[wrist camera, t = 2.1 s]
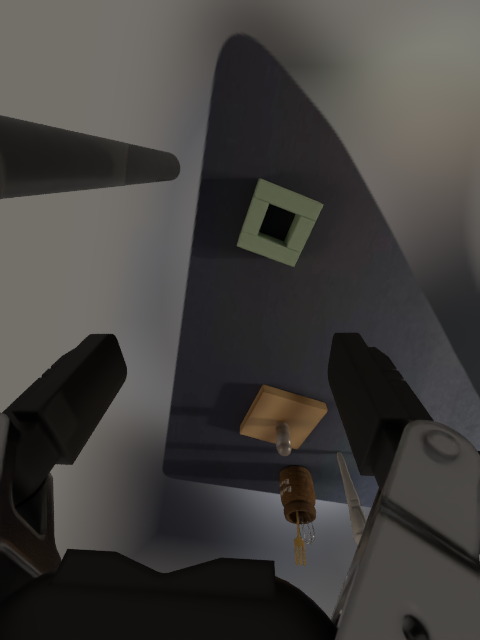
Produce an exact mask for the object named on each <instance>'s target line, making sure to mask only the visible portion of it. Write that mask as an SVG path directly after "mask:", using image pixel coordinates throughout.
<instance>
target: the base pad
mask: <svg viewBox="0 0 480 640" xmlns="http://www.w3.org/2000/svg"><path fill="white" fill-rule="evenodd" d="M327 411H328V410H327V407H326V404H325V403H324V402H320V401H317V400H314V399H310V398H307V397H304V396H300V395H297V394H294V393H290V392H287V391H284V390H280V389H277V388H274V387H270V386H267V385H262V387H261V389H260V391H259V393H258V394H257V396H256V398H255V400H254V402H253V403H252V405H251V407H250V409H249V411H248V413H247V414H246V416H245V418H244V420H243V422H242V424H241V425H240V434H242V435H246V436H249V437H253V438H257V439H261V440H264V441H268V442H272V443H275V444H277V451H278V453H279V454H280V455H282V456H288V455H289V454H290V453H291V450H292V448H294V449H298V448H299V447H300V445H301V444H302V443H303V441H304V440H305V439H306V438H307V436H308V435H309V434H310V433H311V431H312V430H313V429H314V428H315V426H316V425H317V424H318V423H319V421H320V420H321V419H322V417H323V416H324V415H325V414H326V412H327Z"/></svg>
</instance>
